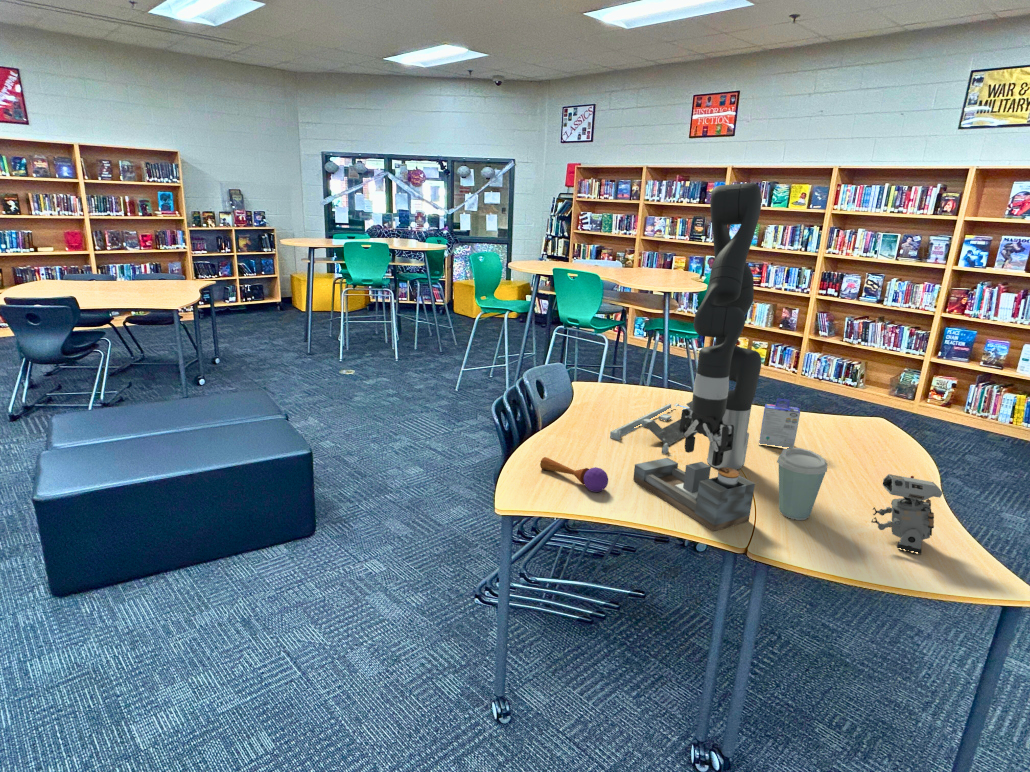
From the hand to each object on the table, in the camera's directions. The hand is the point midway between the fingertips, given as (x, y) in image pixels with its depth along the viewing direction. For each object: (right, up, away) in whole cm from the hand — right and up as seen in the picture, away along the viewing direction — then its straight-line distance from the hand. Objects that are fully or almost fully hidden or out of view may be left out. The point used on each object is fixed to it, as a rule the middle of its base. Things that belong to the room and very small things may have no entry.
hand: (702, 458), depth 145 cm
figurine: (+40, -17, -10) cm, 44 cm away
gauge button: (+3, -5, -7) cm, 9 cm away
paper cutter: (+6, +3, +54) cm, 54 cm away
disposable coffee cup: (+21, -13, 0) cm, 25 cm away
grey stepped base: (-2, -11, +5) cm, 12 cm away
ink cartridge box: (+35, -1, +42) cm, 55 cm away
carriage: (-1, -9, +3) cm, 10 cm away
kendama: (-29, -8, +13) cm, 33 cm away
